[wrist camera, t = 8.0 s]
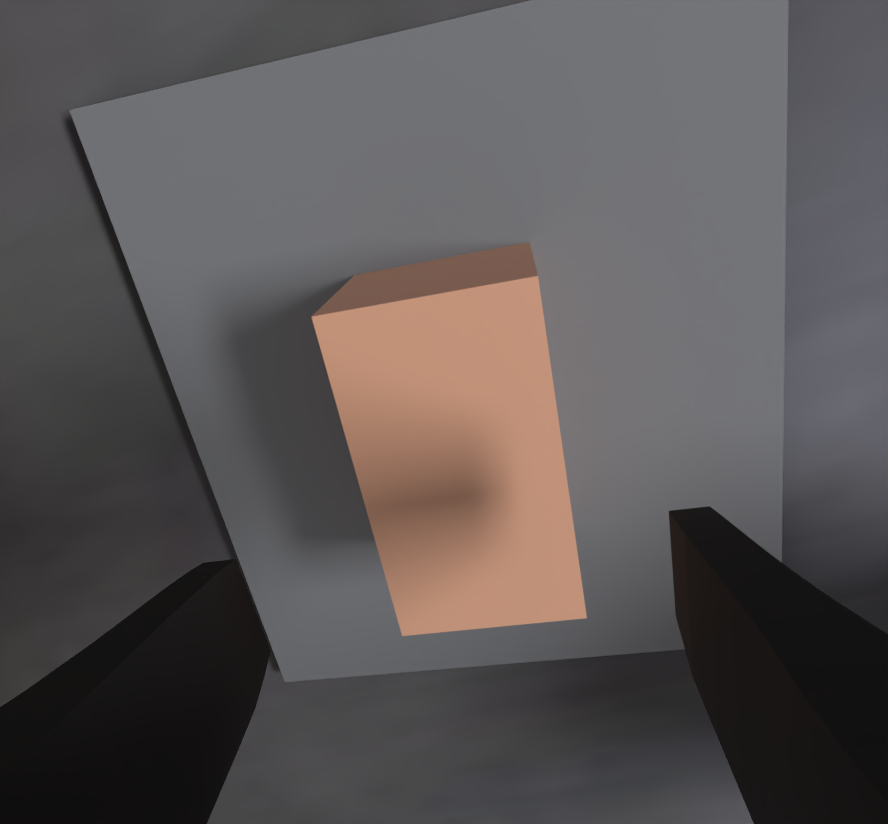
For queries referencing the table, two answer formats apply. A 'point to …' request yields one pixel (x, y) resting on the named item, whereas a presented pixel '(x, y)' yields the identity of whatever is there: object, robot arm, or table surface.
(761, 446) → the mat
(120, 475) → the table surface
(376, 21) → the table surface
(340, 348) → the light orange rectangular block
